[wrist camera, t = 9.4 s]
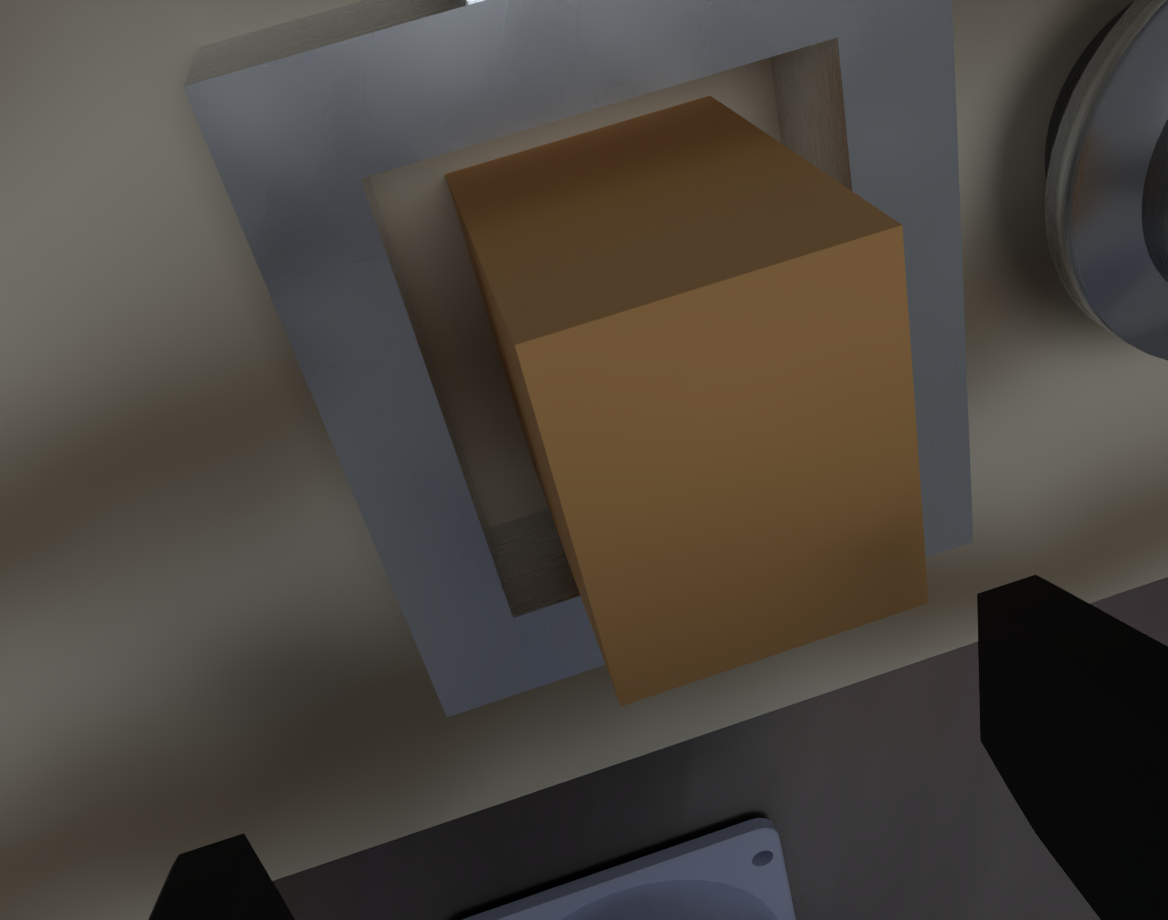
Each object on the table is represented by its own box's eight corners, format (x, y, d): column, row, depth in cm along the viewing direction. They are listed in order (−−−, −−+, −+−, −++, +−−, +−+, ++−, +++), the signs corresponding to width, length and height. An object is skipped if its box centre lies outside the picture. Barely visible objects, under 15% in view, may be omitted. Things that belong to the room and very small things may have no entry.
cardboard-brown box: (757, 389, 18) (928, 603, 13) (531, 460, 18) (620, 707, 13) (710, 95, 16) (902, 225, 11) (445, 174, 16) (514, 345, 10)
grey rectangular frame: (1307, 334, 21) (1535, 450, 17) (430, 620, 19) (462, 814, 16) (1446, -582, 14) (1888, -734, 10) (92, -222, 12) (1, -240, 9)
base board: (1295, 496, 24) (1331, 521, 23) (-145, 982, 22) (-163, 1029, 21) (1467, -581, 15) (1540, -606, 14) (-1067, 91, 12) (-1165, 112, 12)
